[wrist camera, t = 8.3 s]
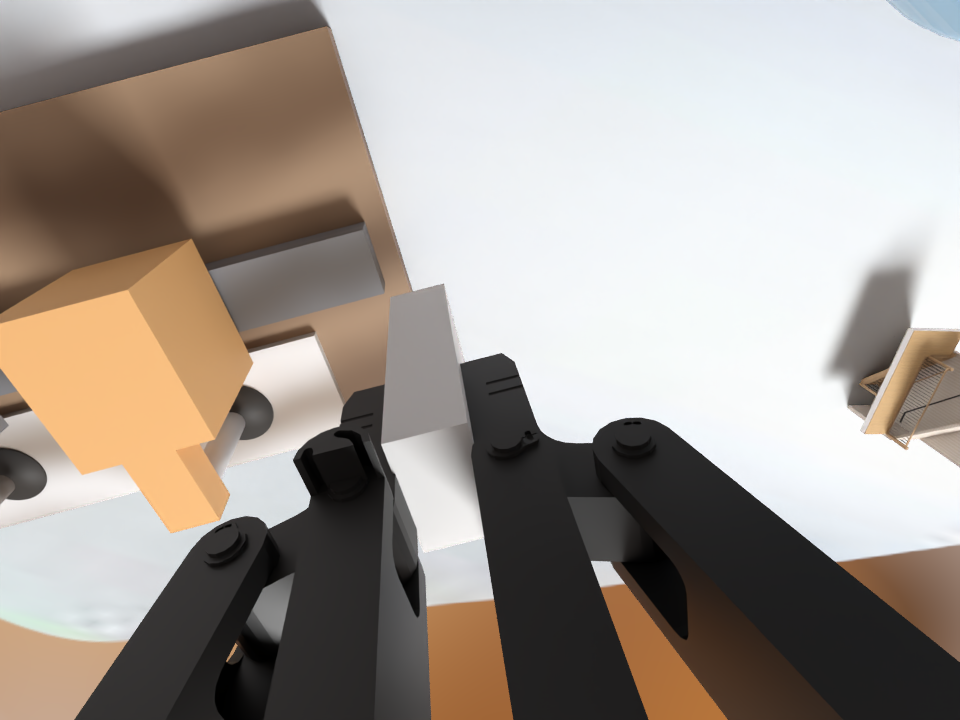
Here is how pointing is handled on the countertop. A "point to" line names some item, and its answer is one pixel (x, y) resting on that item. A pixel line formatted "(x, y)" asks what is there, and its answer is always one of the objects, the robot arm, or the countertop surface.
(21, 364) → the block
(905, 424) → the architectural model
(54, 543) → the countertop surface
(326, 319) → the brown board with bar
